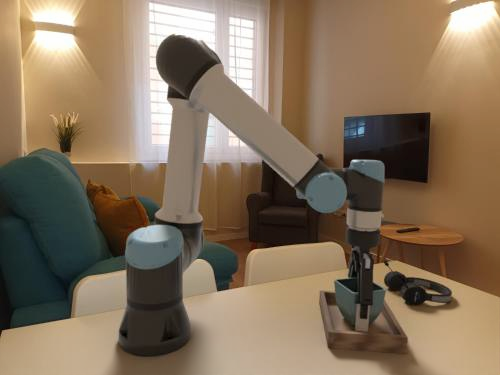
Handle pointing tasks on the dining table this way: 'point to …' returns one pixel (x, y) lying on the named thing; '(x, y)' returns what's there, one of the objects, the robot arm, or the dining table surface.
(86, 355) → the dining table surface
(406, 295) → the headset
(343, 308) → the flower pot
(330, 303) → the holder tray
